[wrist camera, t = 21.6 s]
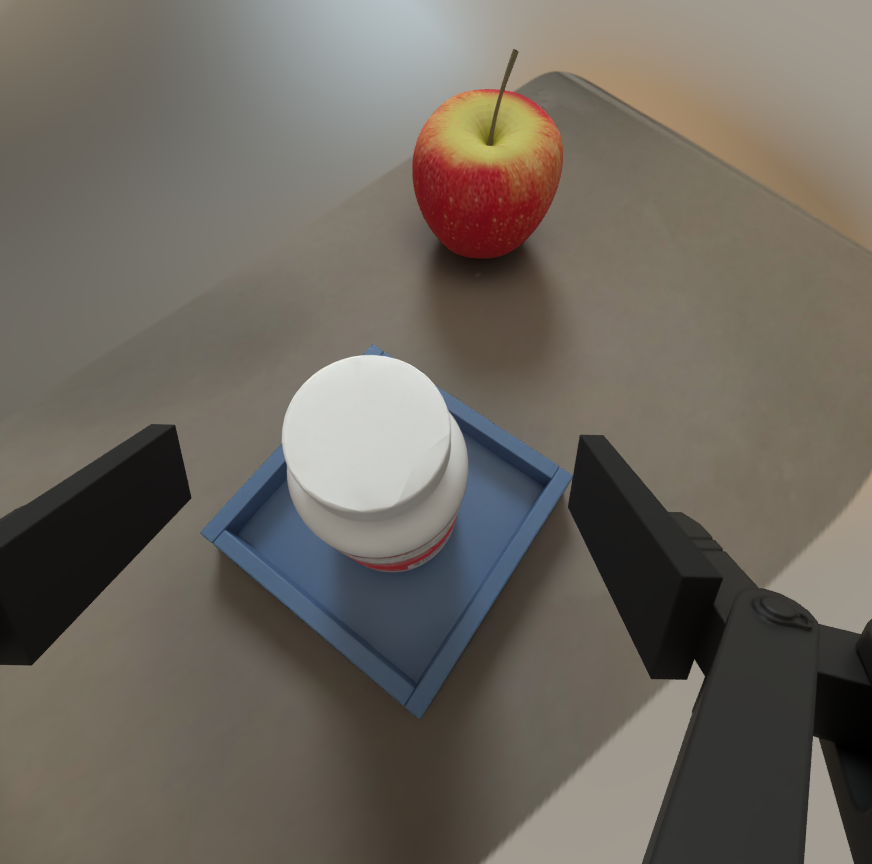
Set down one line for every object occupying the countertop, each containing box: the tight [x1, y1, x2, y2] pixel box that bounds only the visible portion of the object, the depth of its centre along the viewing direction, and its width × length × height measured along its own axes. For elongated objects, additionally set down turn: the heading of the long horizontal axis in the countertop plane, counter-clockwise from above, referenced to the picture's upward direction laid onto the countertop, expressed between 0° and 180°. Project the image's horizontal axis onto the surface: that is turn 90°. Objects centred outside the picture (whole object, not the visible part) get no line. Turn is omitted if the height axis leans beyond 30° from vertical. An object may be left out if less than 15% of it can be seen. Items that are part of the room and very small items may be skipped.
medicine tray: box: [200, 345, 573, 719], centre depth 22 cm, size 13×13×2 cm
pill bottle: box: [282, 355, 468, 572], centre depth 17 cm, size 6×6×11 cm
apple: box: [413, 49, 563, 258], centre depth 25 cm, size 8×8×10 cm
